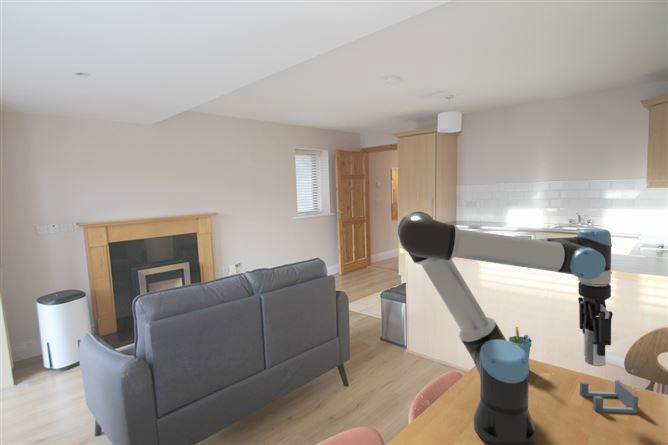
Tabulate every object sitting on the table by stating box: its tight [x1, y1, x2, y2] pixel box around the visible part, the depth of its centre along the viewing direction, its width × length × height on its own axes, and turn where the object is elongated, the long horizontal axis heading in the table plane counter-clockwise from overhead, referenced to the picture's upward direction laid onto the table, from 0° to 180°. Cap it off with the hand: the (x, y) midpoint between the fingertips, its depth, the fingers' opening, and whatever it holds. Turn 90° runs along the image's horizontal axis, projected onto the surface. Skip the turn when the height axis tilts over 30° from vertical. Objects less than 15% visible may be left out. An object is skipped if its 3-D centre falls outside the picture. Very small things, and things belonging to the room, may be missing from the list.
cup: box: [508, 326, 533, 363], centre depth 126 cm, size 14×8×15 cm, turn 176°
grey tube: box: [584, 326, 596, 367], centre depth 103 cm, size 4×4×10 cm
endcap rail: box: [579, 379, 639, 414], centre depth 106 cm, size 11×8×5 cm
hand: (594, 360), depth 103 cm, fingers closed on grey tube, 4 cm apart
